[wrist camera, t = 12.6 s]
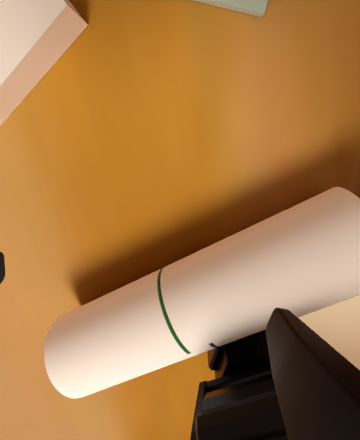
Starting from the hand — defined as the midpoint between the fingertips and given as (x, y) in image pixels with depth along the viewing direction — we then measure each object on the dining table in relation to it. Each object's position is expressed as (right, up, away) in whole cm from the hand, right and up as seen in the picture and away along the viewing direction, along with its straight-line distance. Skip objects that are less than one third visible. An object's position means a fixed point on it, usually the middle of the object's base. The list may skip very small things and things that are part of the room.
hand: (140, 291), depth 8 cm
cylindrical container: (-8, -10, +14) cm, 19 cm away
